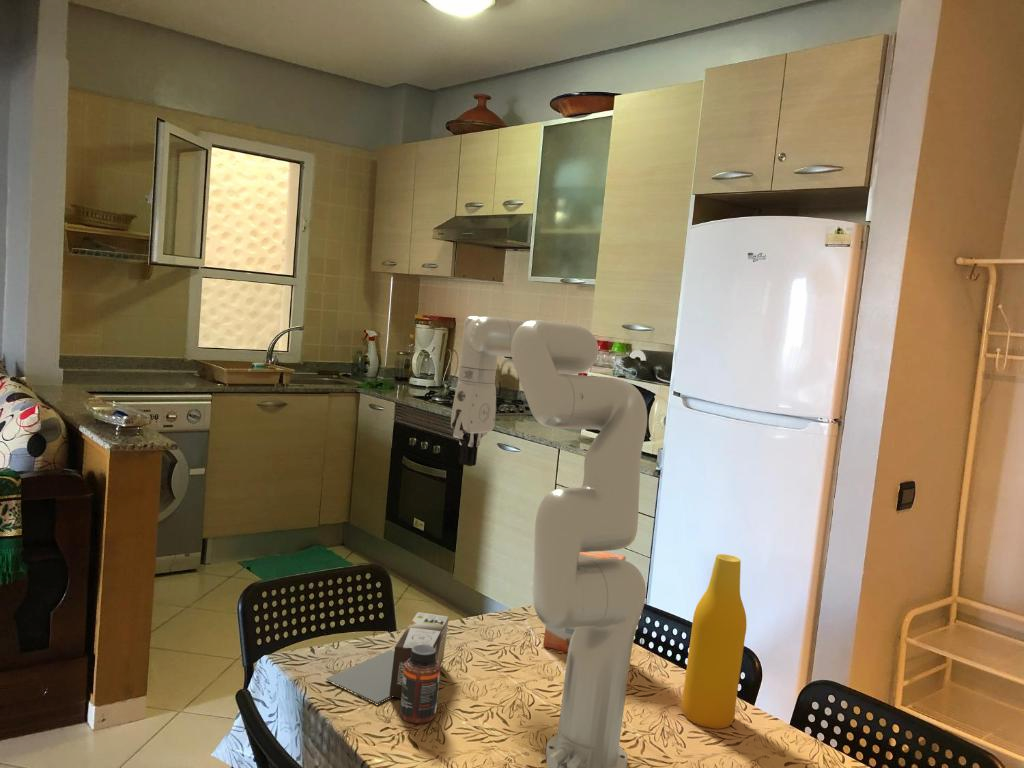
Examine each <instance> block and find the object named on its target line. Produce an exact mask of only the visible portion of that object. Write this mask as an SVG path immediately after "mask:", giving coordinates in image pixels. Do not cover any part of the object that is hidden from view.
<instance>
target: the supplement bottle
mask: <svg viewBox="0 0 1024 768" xmlns="http://www.w3.org/2000/svg"><path fill="white" fill-rule="evenodd" d="M435 658H436V649H435V648H434V647H432V646H429V645H417V646H414V647H413V648H412V651H411V658H410V659H408V660H407V661H406V663H405V665H404V673H403V683H402V684H403V685H402V695H401V698H400V705H399V706H400V707H399V709H400V710H399V714H400V717H401V718H402V719H403V720H404V721H407V722H409V723H411V724H425V723H429V722H431V721H432V720H434V719H435V717H436V715H437V709H438V708H437V707H438V699H439V697H438V695H439V686H440V675H441V666H440V664H439V663H438V661H437V660H436V659H435Z"/></svg>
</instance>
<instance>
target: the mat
mask: <svg viewBox="0 0 1024 768" xmlns="http://www.w3.org/2000/svg"><path fill="white" fill-rule="evenodd" d="M394 651H395V650H392V649H389V650H386V651H384V652H382V653H379V654H378V655H376V656H373V657H370V658H368V659H366V660H365V661H361V662H359V663H357V664H355V665H354V666H351V667H349V668H346V669H344V670H342V671H339V672H338V673H335V674H332V675H330V676H328V677H326V678H325V680H326V679H327V680H329V681H331V682H334V683H335V684H338V685H339V686H341V687H343V688H346V689H348V690H349V691H352V692H353V693H356V694H358V695H360V696H361V697H363V698H365V699H367V700H370V701H372V702H374V703H376V704H379V703H381V702H382V701H384V700H386V699H388V698H390V697H392V696H390V685H391V677H392V669H393V660H394ZM363 698H362V699H363ZM392 698H393V697H392ZM365 699H364V700H365ZM390 699H391V698H390ZM367 700H366V701H367ZM388 700H389V699H388ZM386 701H387V700H386ZM381 704H382V703H381ZM379 705H380V704H379Z"/></svg>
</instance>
